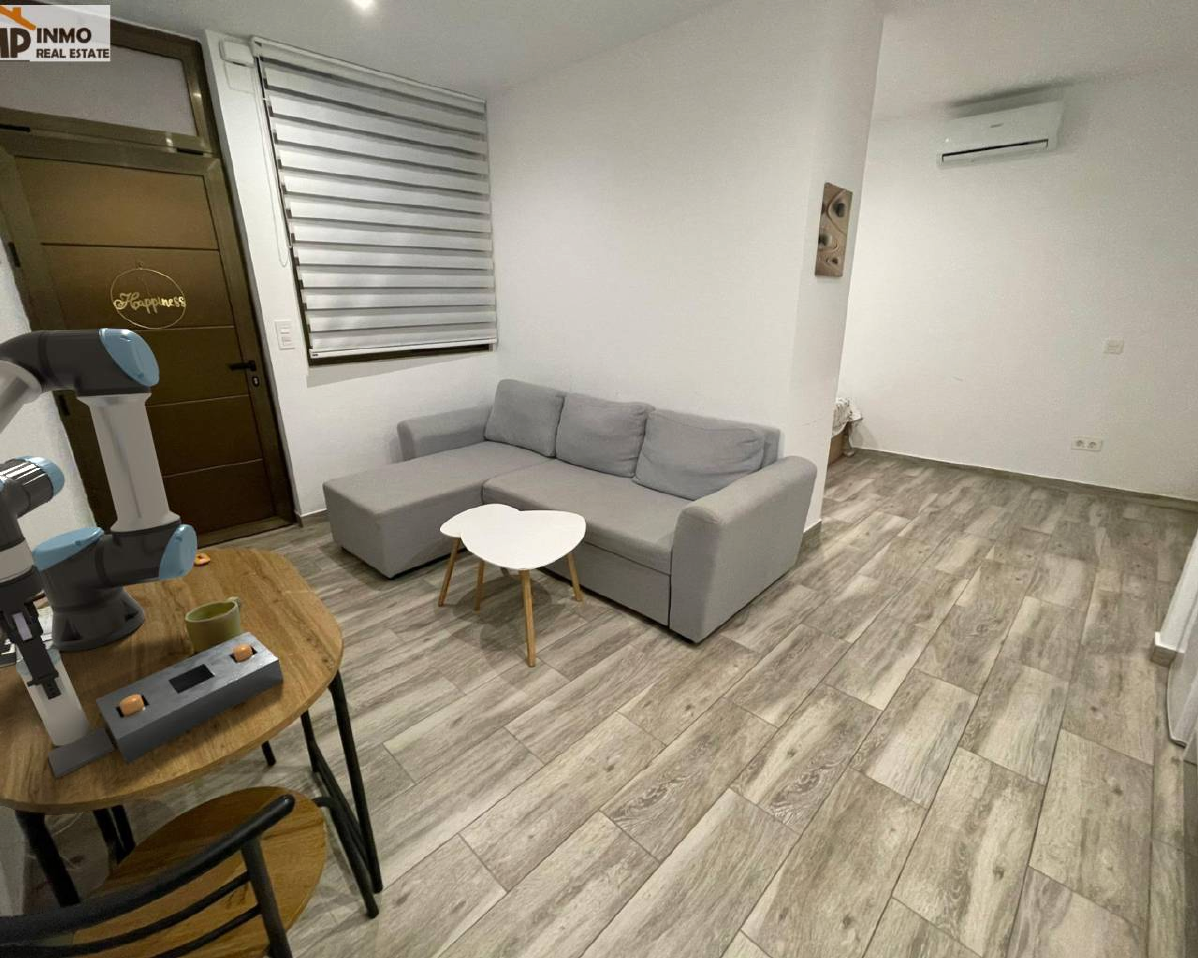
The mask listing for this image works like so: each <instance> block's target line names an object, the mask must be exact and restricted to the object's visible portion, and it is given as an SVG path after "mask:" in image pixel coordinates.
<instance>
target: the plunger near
mask: <svg viewBox="0 0 1198 958" xmlns="http://www.w3.org/2000/svg"><path fill="white" fill-rule="evenodd" d="M119 705H120V708H121V710H122V713H123V715H124V717H125V716H127V715H129V714H131V713H133V712H135V711H137V710H140V709H142V708H144V707H145V706H144V703H143V701H142V698H141V696H140V695H132V696H129V697H127V698H125V699H123V700H122V701H121V702H120V704H119Z"/></svg>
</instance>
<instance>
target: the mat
mask: <svg viewBox="0 0 1198 958" xmlns="http://www.w3.org/2000/svg"><path fill="white" fill-rule="evenodd" d="M112 743H113V742H112V741H111V738H110V737H109V735H108V733H107V732H106V729H105V727H104V726H101V727H100V728H97V729H95V730H94V731H91V732H88V733H87V734H86V735H84V736H83V737H82V738H80V739H78V740H76V741H74V742H72V743H70V744H66V745H61V746H58V747H57V748H55V749H53V750H51V751H49V752H47V757H48V760H49V763H50V765H51V768H52V769H51V770H52V771H53V774H54V777H55V779H56V780H59V777H60V778H62V777H64V776H66V775H68V774H70V773H72V772H73V771H76V770H77V769H79V768H82V767H83V766H85V765H87V764H90V763H92V762H94V761H95V760H97V759H99V758H101V757H103V756H105V755H107V754H110V753H112V752H113V751H114V750H116V749H115V747H114V744H112ZM61 776H62V777H61Z"/></svg>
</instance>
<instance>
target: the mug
mask: <svg viewBox="0 0 1198 958" xmlns="http://www.w3.org/2000/svg"><path fill="white" fill-rule="evenodd" d="M242 608H243V601H242V600H241V599H240V598H239V597H238V596H231V597H228V598H226V600H225V601H216V602H211V603H206V604H203V605H200V606H198V607H196V608H194V609H192V610H190V611H188V612H187V613H186V614H185V617H184V618H185V619H184V620H185V621H184V622H185V627H186V631H187V633H188V637H189V639H190V643H191V645H192V647H193V649H194V651H195V652H196V653H197V654H199V653H201V652H204V651H206V650H208V649H210V648H213V647H215V646H217V645H219V644H222V643H224V642H226V641H228V640H231V639H233V638H235V637H237V636H240V635H242V634H244V633H243V630H242V627H241V617H240V616H241V613H242Z"/></svg>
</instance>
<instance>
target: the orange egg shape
mask: <svg viewBox="0 0 1198 958" xmlns="http://www.w3.org/2000/svg"><path fill="white" fill-rule="evenodd" d="M233 652H234V656H235V659H236V662H237V663H238V662H240V661H242V660H244V659H246V658H248V657H250V656H252V655H253V653H252V650H251V646H250V645H249V644H243V645H240V646H238V647H236V648H235V649H234V651H233Z"/></svg>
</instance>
